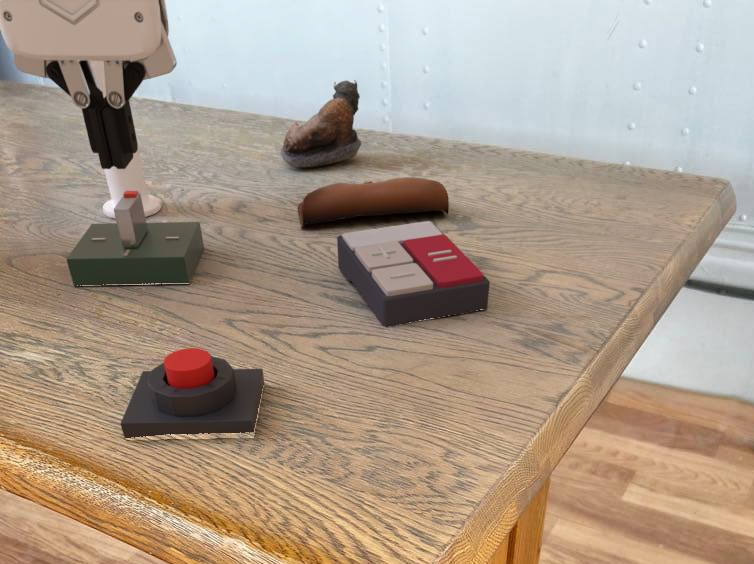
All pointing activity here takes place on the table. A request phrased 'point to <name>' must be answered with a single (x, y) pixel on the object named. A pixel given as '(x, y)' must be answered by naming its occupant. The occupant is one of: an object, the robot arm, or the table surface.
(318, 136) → the animal figurine
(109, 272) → the panel
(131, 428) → the button box
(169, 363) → the red button
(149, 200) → the candle
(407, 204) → the sunglasses case
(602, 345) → the table surface
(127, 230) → the block knob
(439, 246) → the calculator
